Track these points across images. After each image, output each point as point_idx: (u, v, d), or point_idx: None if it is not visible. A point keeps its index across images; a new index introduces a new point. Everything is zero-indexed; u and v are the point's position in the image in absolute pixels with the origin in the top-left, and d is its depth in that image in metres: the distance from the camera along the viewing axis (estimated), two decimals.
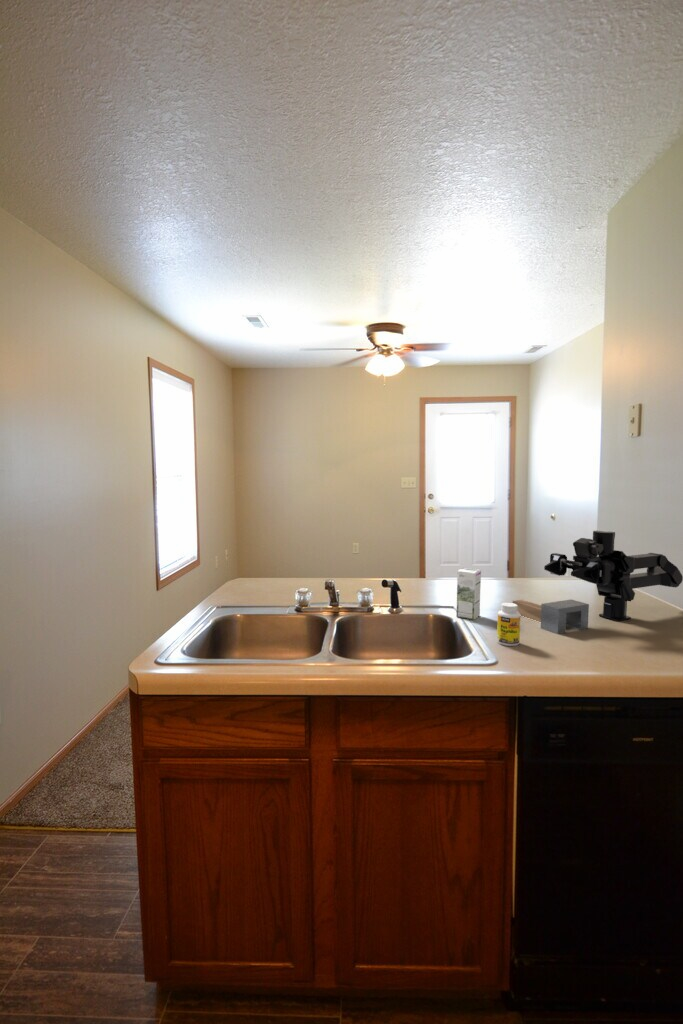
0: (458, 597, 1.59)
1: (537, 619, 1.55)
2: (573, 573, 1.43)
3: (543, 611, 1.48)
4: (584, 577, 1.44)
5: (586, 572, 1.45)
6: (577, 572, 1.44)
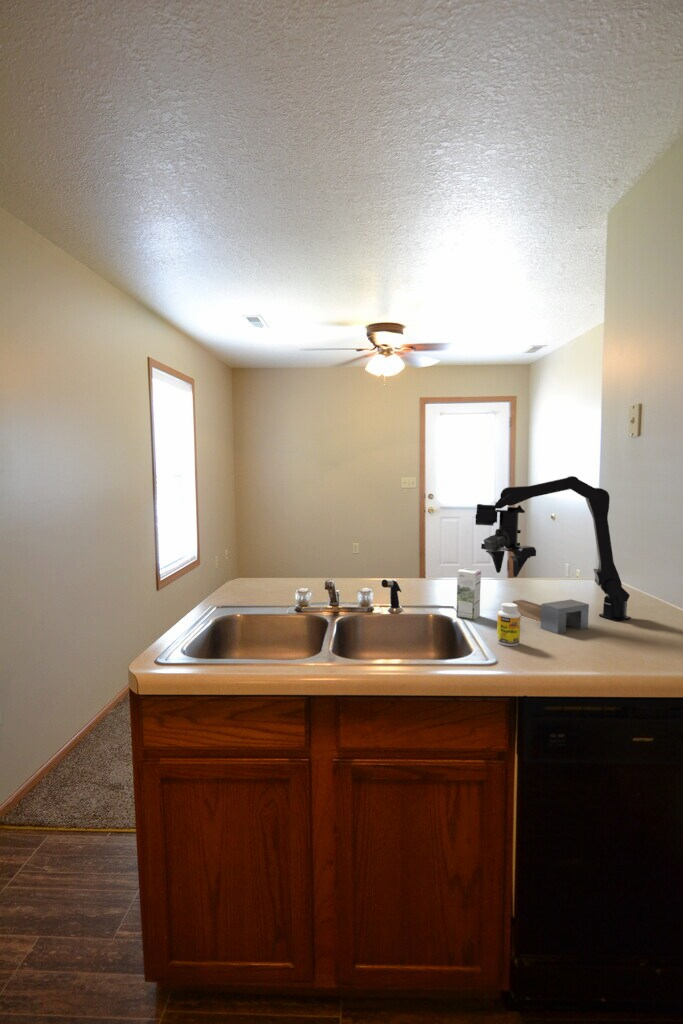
0: (458, 597, 1.59)
1: (537, 619, 1.55)
2: (515, 575, 1.65)
3: (543, 611, 1.48)
4: (521, 565, 1.64)
5: (518, 562, 1.64)
6: (516, 572, 1.65)
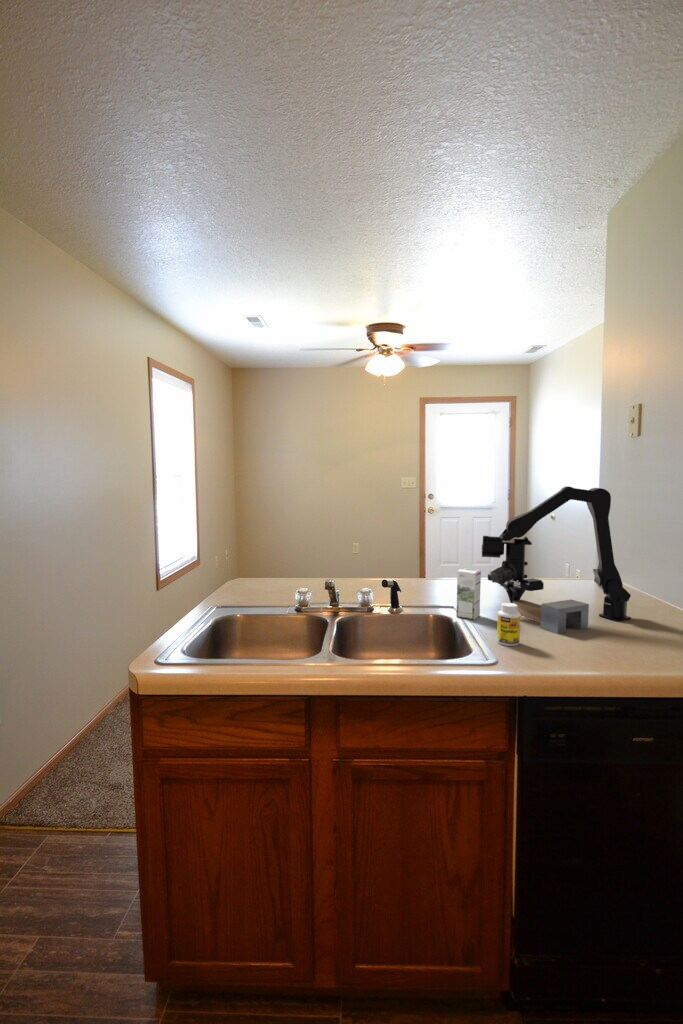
0: (458, 597, 1.59)
1: (537, 619, 1.55)
2: None
3: (543, 611, 1.48)
4: (520, 596, 1.65)
5: (516, 593, 1.65)
6: None
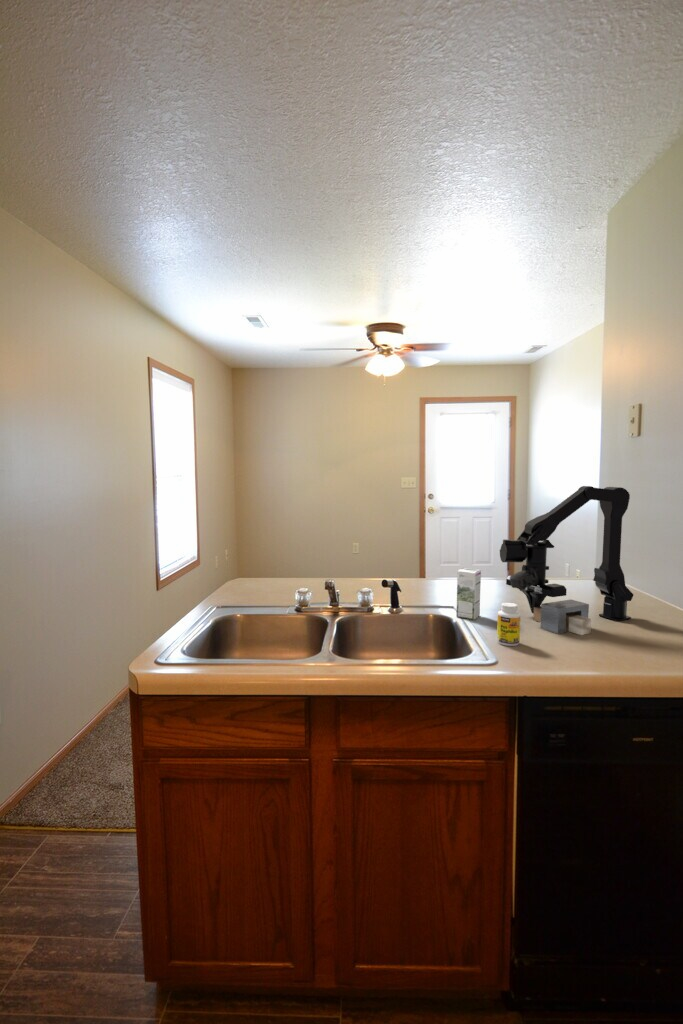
0: (458, 597, 1.59)
1: None
2: None
3: (543, 611, 1.48)
4: (540, 602, 1.58)
5: (537, 599, 1.57)
6: None
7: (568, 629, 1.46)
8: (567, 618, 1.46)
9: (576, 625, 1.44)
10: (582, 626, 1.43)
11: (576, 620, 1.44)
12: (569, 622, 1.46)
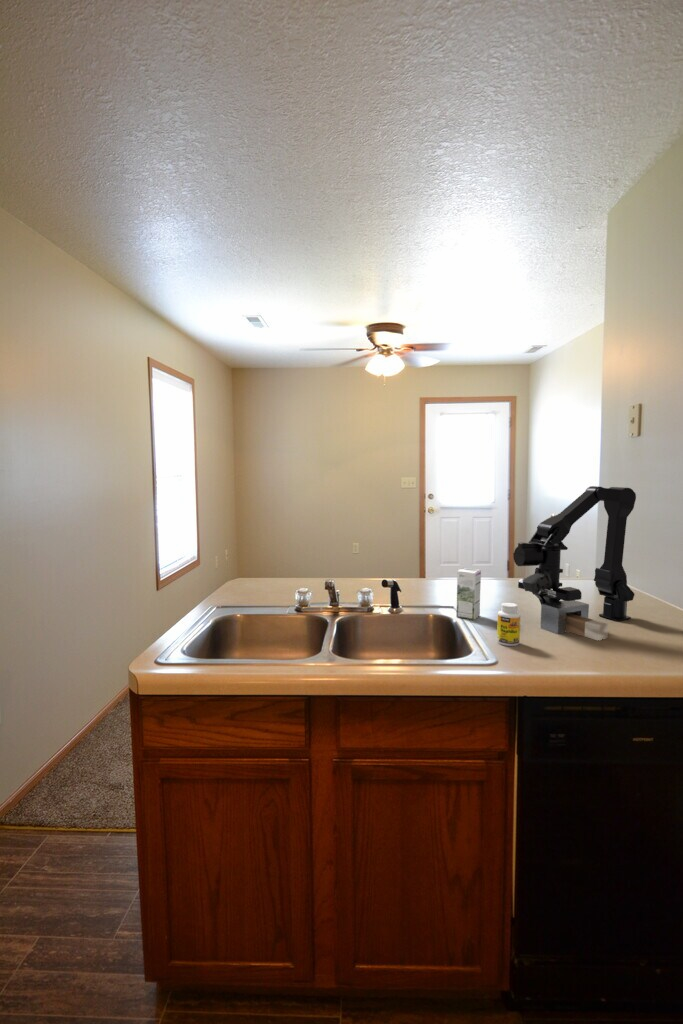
0: (458, 597, 1.59)
1: (578, 631, 1.43)
2: None
3: (543, 611, 1.48)
4: None
5: None
6: None
7: (584, 634, 1.42)
8: (583, 623, 1.42)
9: (593, 631, 1.39)
10: (599, 631, 1.38)
11: (593, 625, 1.39)
12: (585, 627, 1.42)
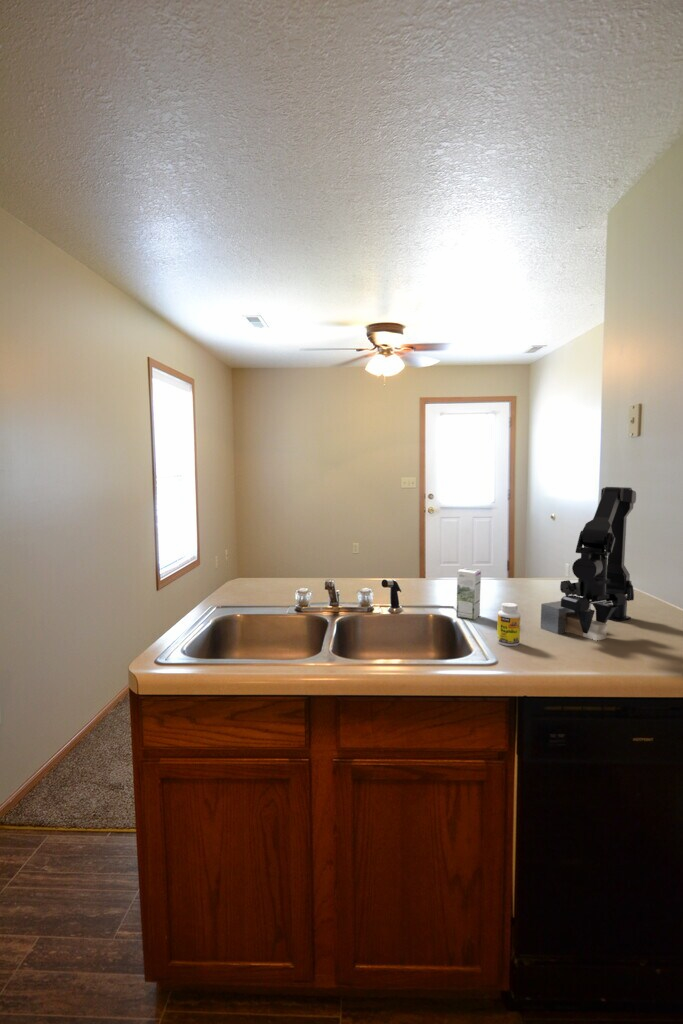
0: (458, 597, 1.59)
1: (577, 631, 1.43)
2: (584, 631, 1.40)
3: (543, 611, 1.48)
4: (586, 621, 1.38)
5: (582, 616, 1.39)
6: (583, 627, 1.40)
7: (583, 634, 1.42)
8: None
9: (591, 631, 1.39)
10: (597, 631, 1.38)
11: (591, 625, 1.39)
12: None
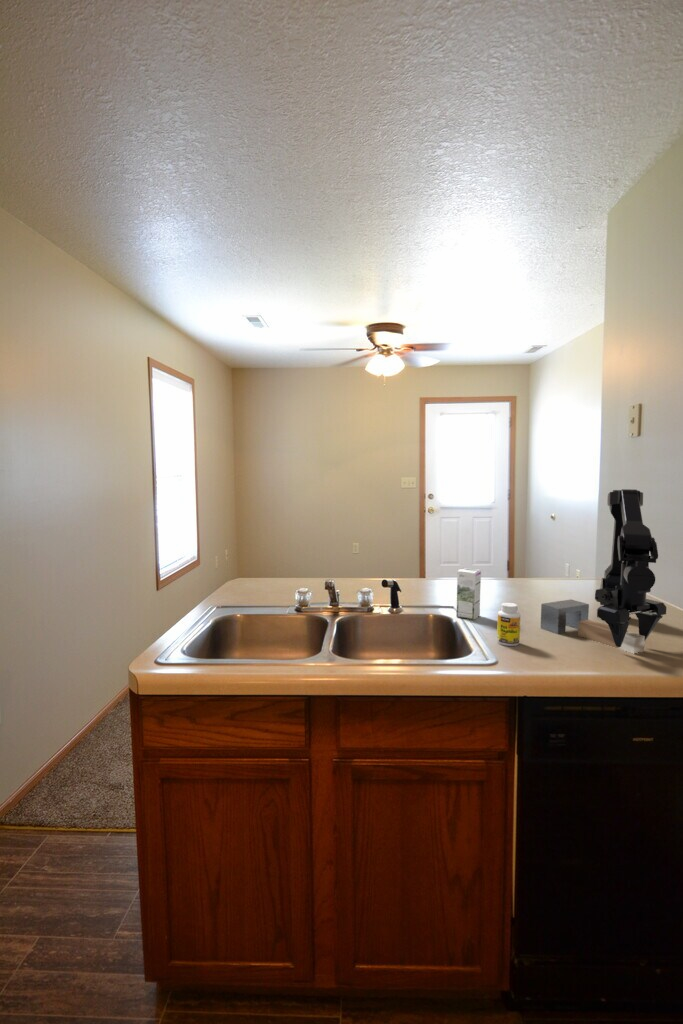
0: (458, 597, 1.59)
1: (611, 644, 1.33)
2: (617, 645, 1.29)
3: (543, 611, 1.48)
4: (619, 634, 1.27)
5: (615, 628, 1.28)
6: (616, 641, 1.29)
7: (618, 647, 1.32)
8: None
9: (628, 643, 1.30)
10: (634, 644, 1.28)
11: (627, 637, 1.29)
12: None
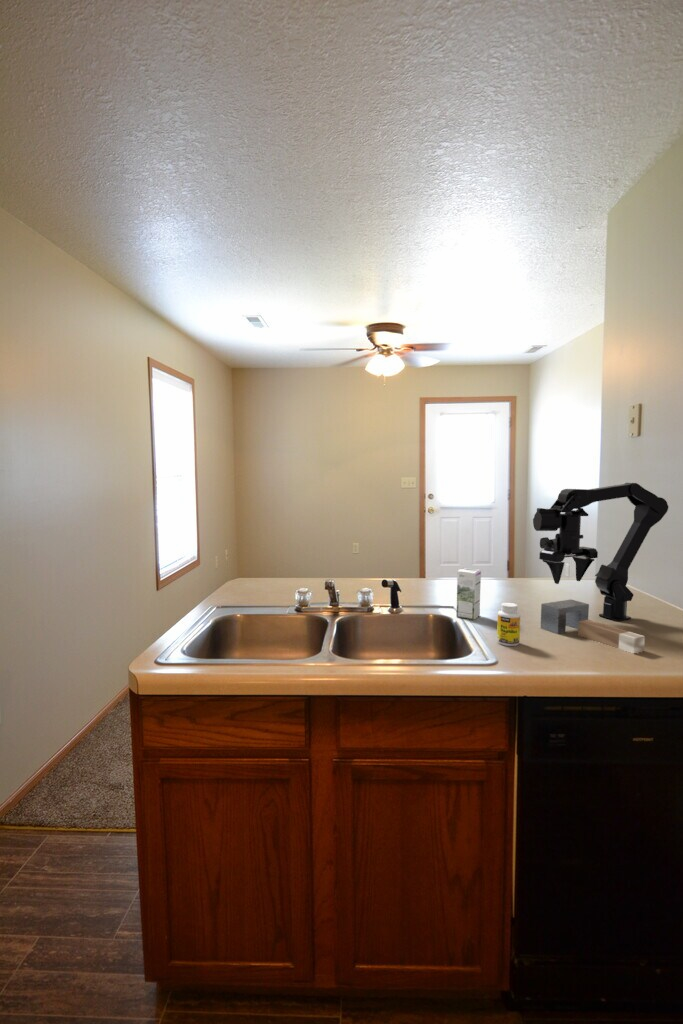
0: (458, 597, 1.59)
1: (611, 644, 1.33)
2: (555, 582, 1.56)
3: (543, 611, 1.48)
4: (557, 572, 1.54)
5: (554, 568, 1.56)
6: (554, 578, 1.56)
7: (618, 647, 1.32)
8: (617, 635, 1.32)
9: (627, 643, 1.30)
10: (634, 644, 1.28)
11: (627, 637, 1.29)
12: (619, 639, 1.32)
